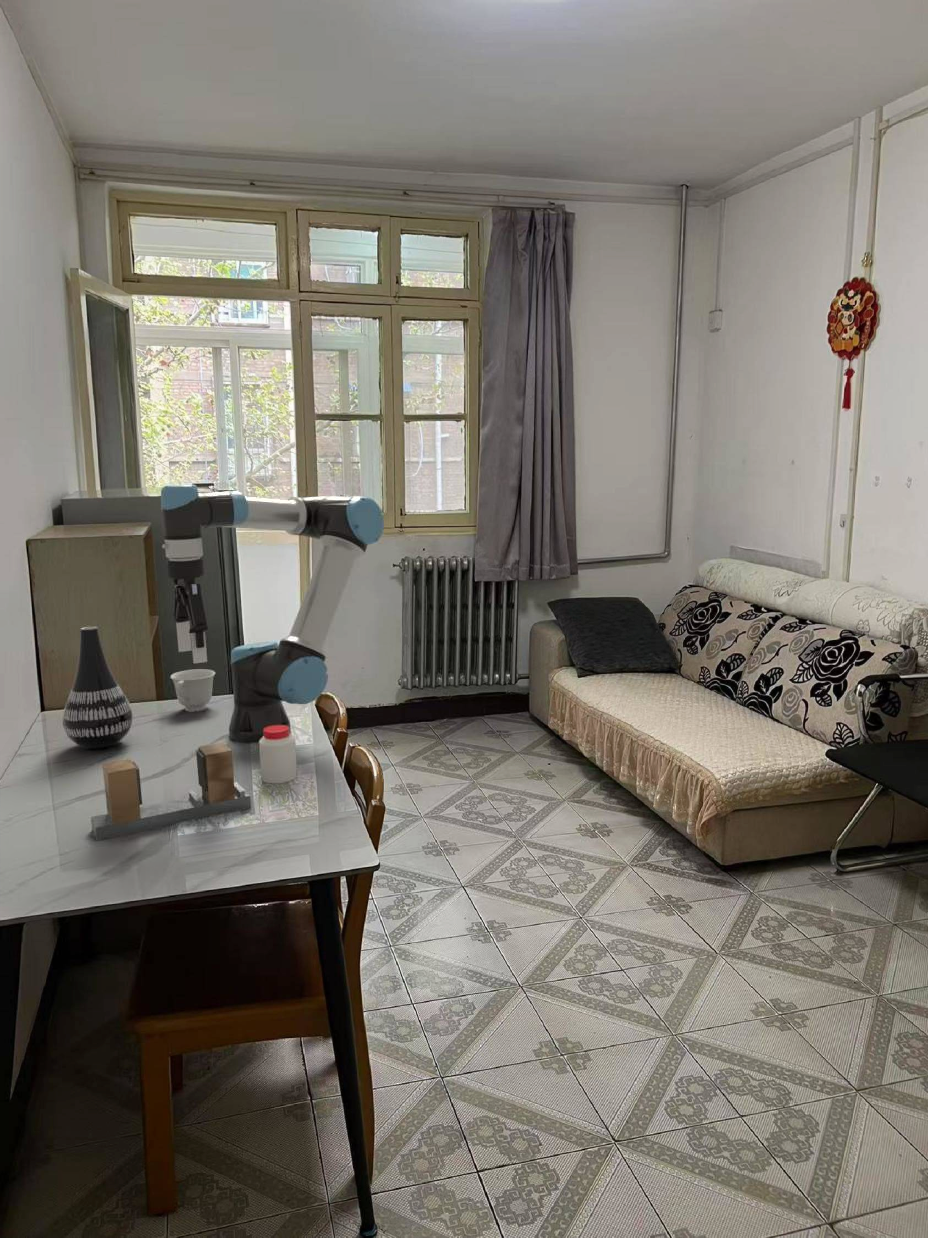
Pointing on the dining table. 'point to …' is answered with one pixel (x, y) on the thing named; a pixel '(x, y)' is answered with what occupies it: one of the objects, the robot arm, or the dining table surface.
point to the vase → (95, 699)
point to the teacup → (193, 688)
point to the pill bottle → (277, 755)
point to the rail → (133, 818)
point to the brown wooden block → (216, 772)
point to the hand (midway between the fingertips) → (192, 656)
